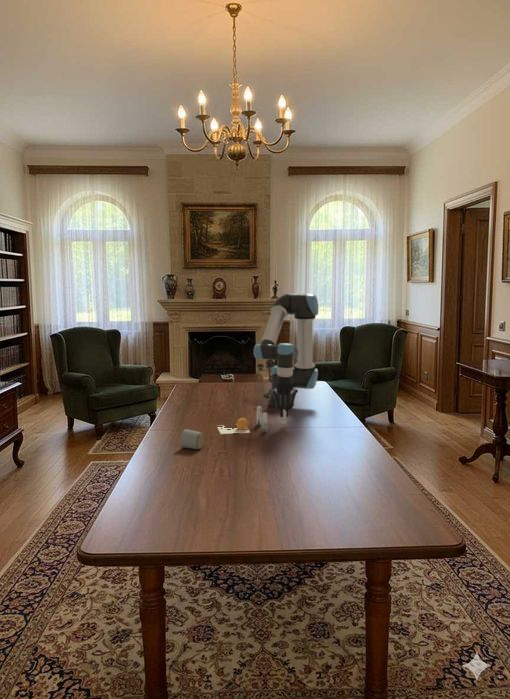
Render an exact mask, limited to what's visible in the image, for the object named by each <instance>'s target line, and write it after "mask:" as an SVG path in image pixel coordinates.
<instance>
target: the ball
mask: <svg viewBox="0 0 510 699" xmlns="http://www.w3.org/2000/svg"><path fill="white" fill-rule="evenodd" d="M236 425H237V427H238V428H239V429H241V430H243V429H246V428H248V426H249V422H248V420H247V419H246V418H245V417H241V418H238V419H237V421H236Z"/></svg>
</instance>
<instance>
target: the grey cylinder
mask: <svg viewBox="0 0 510 699" xmlns="http://www.w3.org/2000/svg"><path fill="white" fill-rule="evenodd" d="M179 440H180V441H179V442H180V446H181V447H182V448H183V449H191V450H200V449H201V448H203V446H204V443H205V435H204V433H202V432H201V431H196V430H191V429H188V428H185V429H184V430H183V431H182V432H181V434H180V439H179Z"/></svg>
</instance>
